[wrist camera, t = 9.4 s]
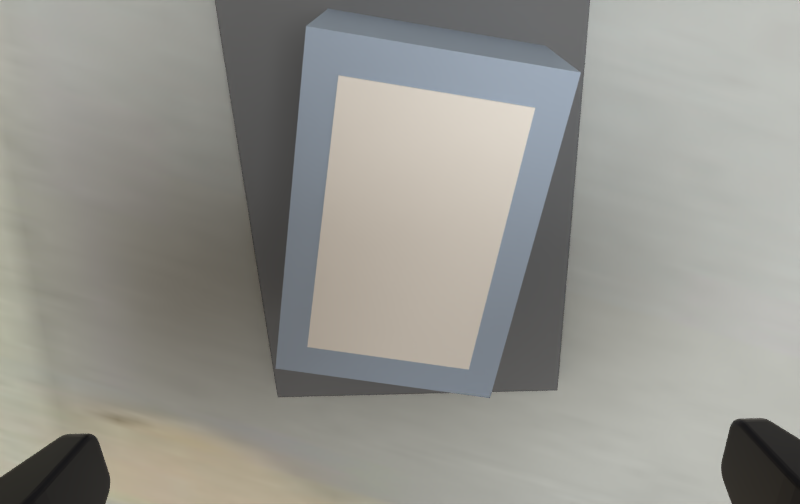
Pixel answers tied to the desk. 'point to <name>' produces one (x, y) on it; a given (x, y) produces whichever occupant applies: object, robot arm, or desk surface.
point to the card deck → (415, 199)
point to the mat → (275, 148)
